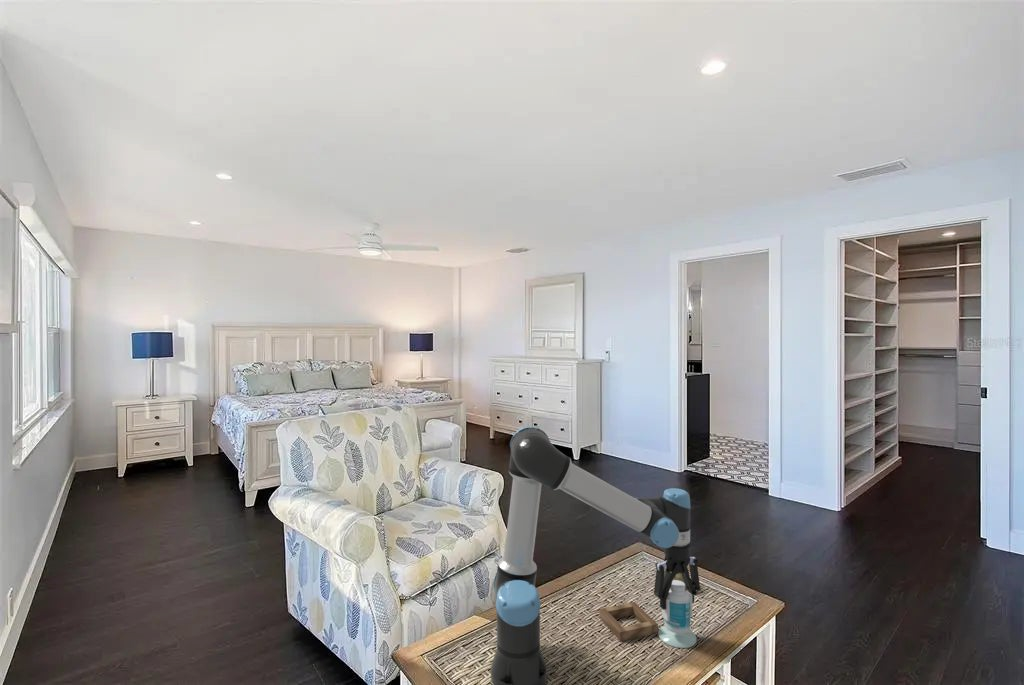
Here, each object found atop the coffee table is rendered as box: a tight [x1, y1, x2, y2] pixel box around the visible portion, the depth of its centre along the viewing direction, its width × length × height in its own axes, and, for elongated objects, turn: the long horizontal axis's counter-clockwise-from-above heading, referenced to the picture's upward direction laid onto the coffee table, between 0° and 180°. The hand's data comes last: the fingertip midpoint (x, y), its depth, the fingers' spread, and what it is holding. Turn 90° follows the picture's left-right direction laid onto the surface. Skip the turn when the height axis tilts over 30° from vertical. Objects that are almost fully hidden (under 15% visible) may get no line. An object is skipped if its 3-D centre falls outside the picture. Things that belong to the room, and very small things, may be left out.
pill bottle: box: [663, 580, 691, 634], centre depth 152 cm, size 8×7×14 cm
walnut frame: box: [598, 601, 659, 642], centre depth 158 cm, size 13×13×3 cm
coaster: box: [657, 625, 697, 649], centre depth 152 cm, size 11×11×1 cm
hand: (677, 616), depth 152 cm, fingers closed on pill bottle, 7 cm apart
